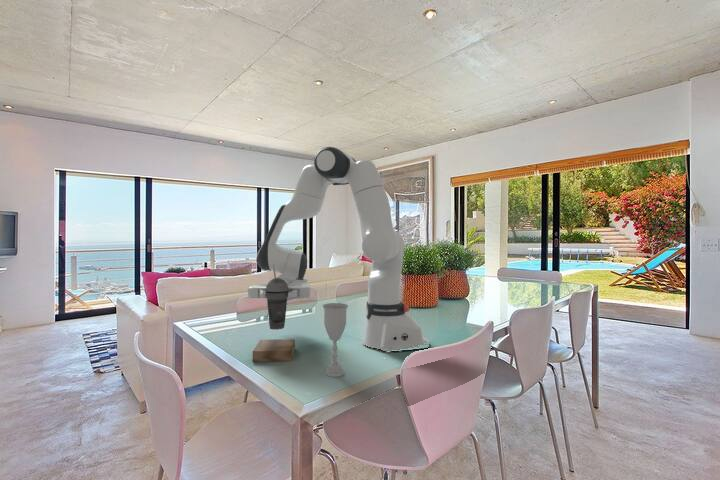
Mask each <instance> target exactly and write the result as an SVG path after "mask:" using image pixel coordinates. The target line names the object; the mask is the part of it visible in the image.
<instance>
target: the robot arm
mask: <svg viewBox="0 0 720 480" xmlns="http://www.w3.org/2000/svg"><path fill="white" fill-rule="evenodd" d="M330 185H333V186H344V185H349V186H350V188H351V191H352V192H351V193H352V196H353V200H354V203H355V206H356V209H357V213H358V218H359V222H360V231H361V237H362V243H361V249H362V252H363V255H364V256H365V257H366V258H367V259H369V260H370V261H371V266H370V271H369V272H370V273H369V276H368V279H367V301H366V306H365V312H366V313H365V317H366V325H365V332H364V336H363V340H362V344H363V345H364V346H365V345H366V346H365V347H367V346H368V347H367V348H369V347H371V348H370V349H373V348H377V349H376V350H378V349H381V350H384V351H392V350H400V349H408V348H414V347H419V346H420V345H429V344H430V341H429V340H428V339H427V338H426V337H424V335H423V331H422V327H421V325H420V324H419V323H418V322H417V321H416V320H415V319H414V318H412V317H411V315H408V314H407V313H408V312H410V306H409V305H408V304H406V303H403V302H401V285H402V283H401V279H402V271H403V264H404V255H405V241H404V238H403V236H402V234H400V233H399V231H396V230H395V229H394V225H393V220H392V219H393V218H392V214H391V213H392V212H391V210H392V209H391V206H390V202H389V199H388V196H387V193H386V189H385V185H384V183H383V179H382V177H381V175H380V172H379V171H378V168H377V167H376V165H375V163H374V162H373V161H372V160H369V159H360V160H357V161H356V159H355V158H353V157H352V156H351V155H349V154H348V153H347V152H346V151H343V150H341V149H339V148H337V147H334V146H326V147H322V148H320V150H318V151H317V153H316V155H315V156H314V160H313V164H308V165H306V166H304V167H303V168H302V170H301V173H300V174H299V177H298V179H297V183H296V184H295V189H294V192H293V195H292V197H291V198H290V200H289V201H287V202H285V203H283V204H282V205H281V206H280V208H279V209H278V211H277V213H276V215H275V217H274V219H273V221H272V224H271V226H270V228H269V230H268V232H267V235H266V236H265V239H264V241H263V242H262V245H261V247H260V248H259V249H258V251H257V254H256V260H255V262H256V264H257V265H258V267H259V268H260V269H261V270H263V271H267V272H274V270H273V264H275V273H279V275H278V276H276V278H281V279H283V280H284V281H285V282H286V283H287V285H288V290H289V291H288V297H287V302H288V301H291V300H298V299H309V298H311V284H310V283H309V282H308V279H306V278H305V279H304V277H305V275H306V271H307V269H308V268H307V267H308V258H307V256H306V254H305V253H304V252H303V251H300V250H296V249H293V248H288V247H284V246H281V245H278V244H277V242H278V239H279V237H280V235H281V233H282V231H283V229H284V227H285V225H286V224H287V223H289V222H291V221H298V220H299V221H300V220H308V219H312V218H313V217H315V216H317V215H318V214H319V213H320V212H321V210H322V207H323V203H324V200H325V198H326V197H325V196H326V193H327V190H328V188H329V186H330ZM267 284H268V283H266V284H263V283H262V284H254V285H251V286H248V288H247V297H248V298H249V299H267V298H266V292H265V290H266V286H267ZM424 343H429V344H424ZM418 345H419V346H418ZM413 346H414V347H413ZM381 350H380V351H381Z"/></svg>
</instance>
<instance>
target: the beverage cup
mask: <svg viewBox="0 0 720 480" xmlns="http://www.w3.org/2000/svg"><path fill="white" fill-rule="evenodd" d="M273 270H274V271H273V278H272V279H270V280H269V282H267V283H266V284H267V286H266V290H265V292H266V298H265V299H266V302H267V303H266V304H267V316H268V323H269V324H268V325H269V329H270V330H283V329H284V328H285V323H286V316H287V315H286V314H287V305H288V301H287V297H288V291H289V290H288V285H287V283H286V282H285V281H284V280H283V279H281V278H277V275H276V272H275V264H273Z"/></svg>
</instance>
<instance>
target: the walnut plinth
mask: <svg viewBox="0 0 720 480" xmlns="http://www.w3.org/2000/svg"><path fill="white" fill-rule="evenodd" d="M295 349H296V339H295V338H286V339H284V338H283V339H282V338H281V339H278V338H276V339H275V338H274V339H259V341H258V343H257V344H256V345H255V347H254V348H253V349H252V362H291V361H292V360H293V356H294V352H295Z"/></svg>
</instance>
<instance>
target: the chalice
mask: <svg viewBox="0 0 720 480" xmlns="http://www.w3.org/2000/svg"><path fill="white" fill-rule="evenodd" d="M322 307H323V311H324V317H323V318H324V320H323V321H324V322H323V323H324V328H325V330H326V333H327V335H328V338H329V340H330V341H332V344H333V345H332V347H331V348H332V351H333V352H332V353H331V356H332V361H331V362H330V363H329V364H328V365H327V367H326V370H325V372H324V374H325V375H326V376H328V377H331V378H332V377H341V376H343V375H344V374H345V372H344V369H343V367H342V365H341V363H339V362H338V360H337V357H338V356H339V354H338V352H337V350H338V348H339V347H338V345H337V343H338V341H339V340H341V338H342V336H343V334H344V332H345V328H346V326H347V309H348V307H349V305H348V304H347V303H341V302H330V303H325V304H322Z"/></svg>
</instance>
